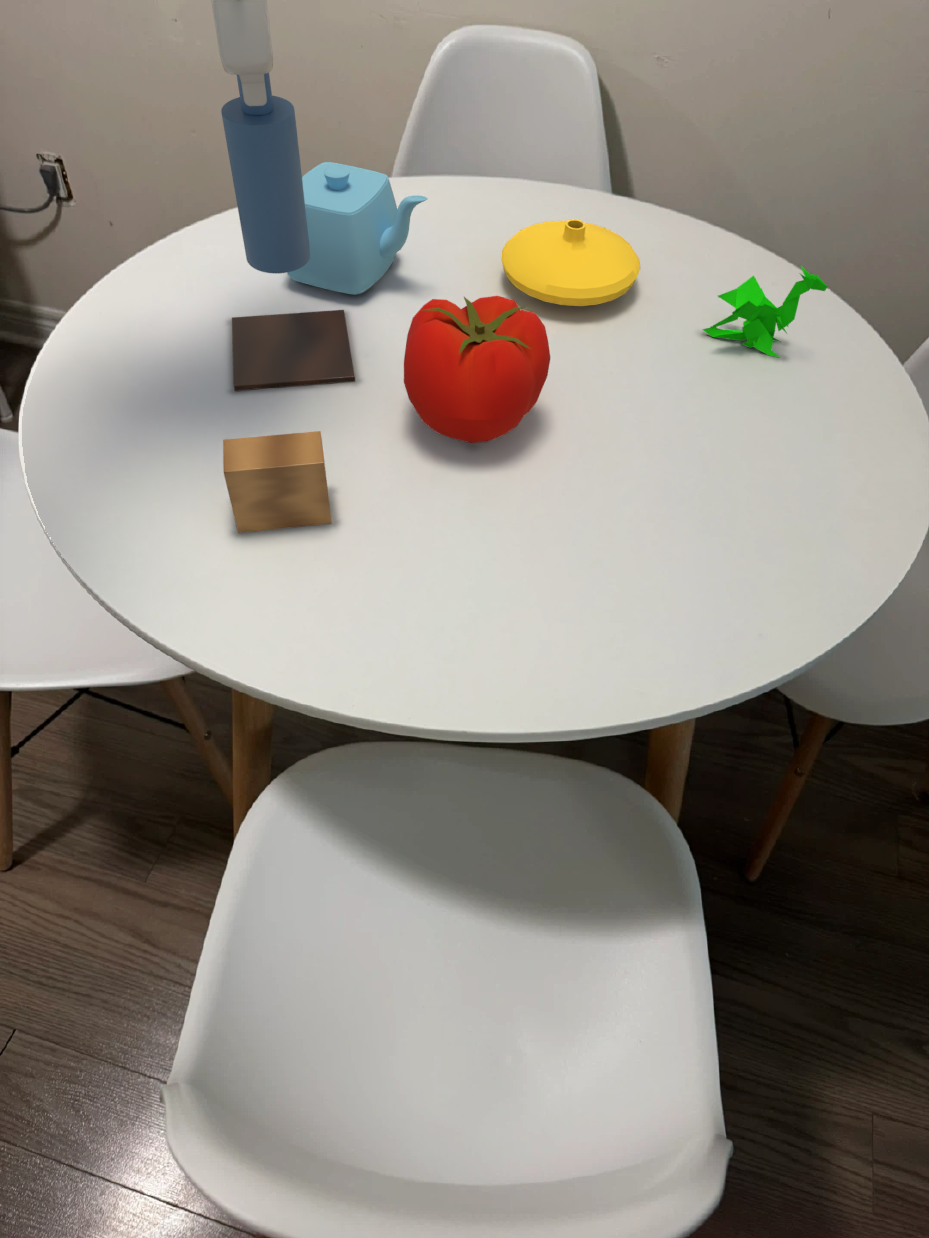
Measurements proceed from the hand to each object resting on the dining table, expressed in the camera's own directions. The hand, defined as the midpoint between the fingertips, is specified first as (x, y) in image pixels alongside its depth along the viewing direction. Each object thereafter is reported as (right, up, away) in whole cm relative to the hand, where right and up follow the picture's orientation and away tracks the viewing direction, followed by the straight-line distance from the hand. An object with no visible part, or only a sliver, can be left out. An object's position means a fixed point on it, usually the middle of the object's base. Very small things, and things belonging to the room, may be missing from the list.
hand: (255, 92), depth 72 cm
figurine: (+48, -14, +23) cm, 55 cm away
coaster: (-1, -15, +20) cm, 25 cm away
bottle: (-1, -5, +13) cm, 14 cm away
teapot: (+5, -4, +29) cm, 30 cm away
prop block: (+1, -34, +5) cm, 34 cm away
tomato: (+18, -23, +14) cm, 33 cm away
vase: (+29, -5, +29) cm, 42 cm away
